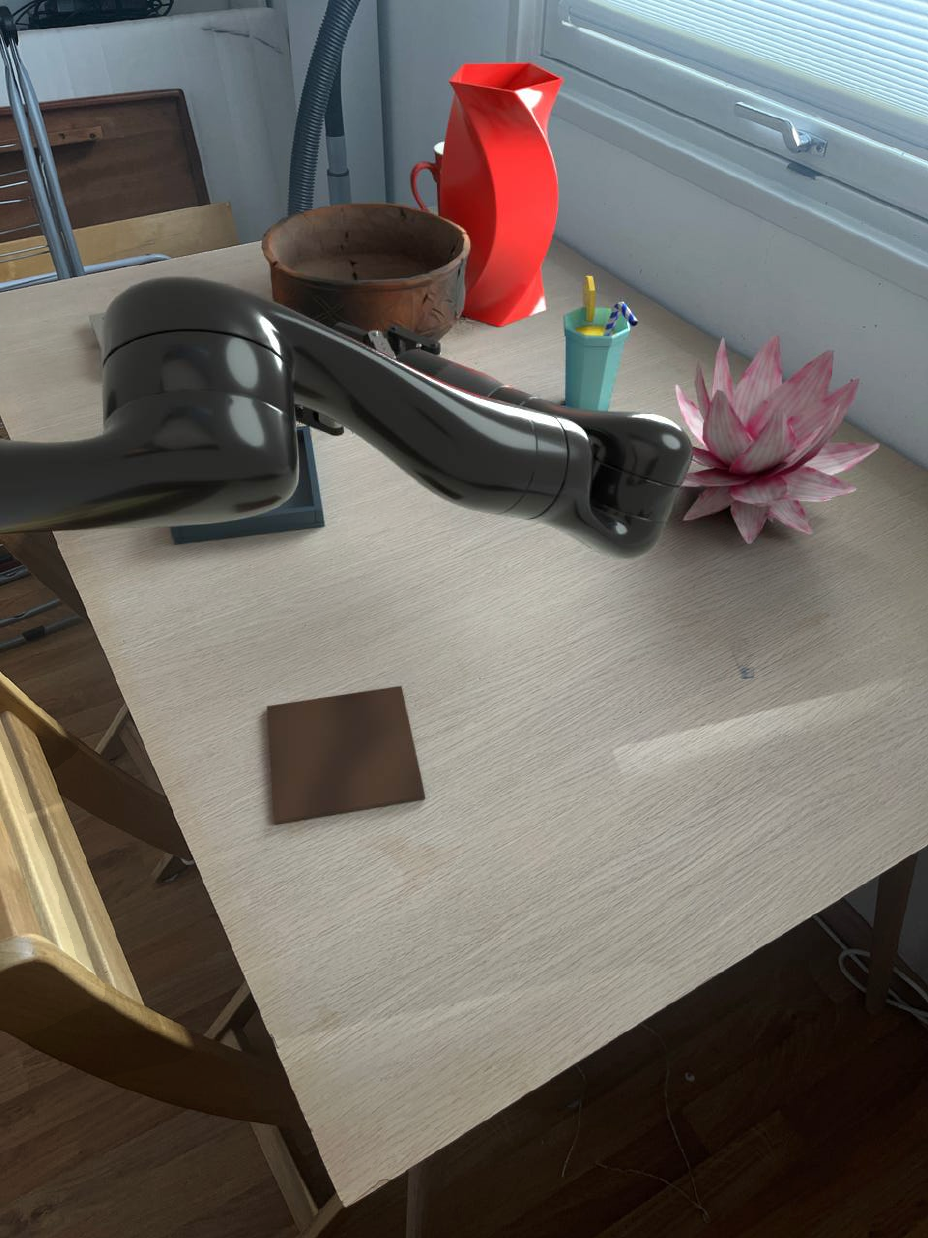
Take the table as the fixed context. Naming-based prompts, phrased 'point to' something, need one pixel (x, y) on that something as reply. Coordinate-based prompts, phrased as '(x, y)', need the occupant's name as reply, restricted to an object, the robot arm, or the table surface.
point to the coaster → (342, 755)
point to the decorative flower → (769, 440)
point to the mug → (434, 169)
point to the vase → (501, 185)
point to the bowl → (370, 267)
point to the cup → (594, 350)
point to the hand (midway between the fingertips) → (302, 351)
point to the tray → (288, 516)
